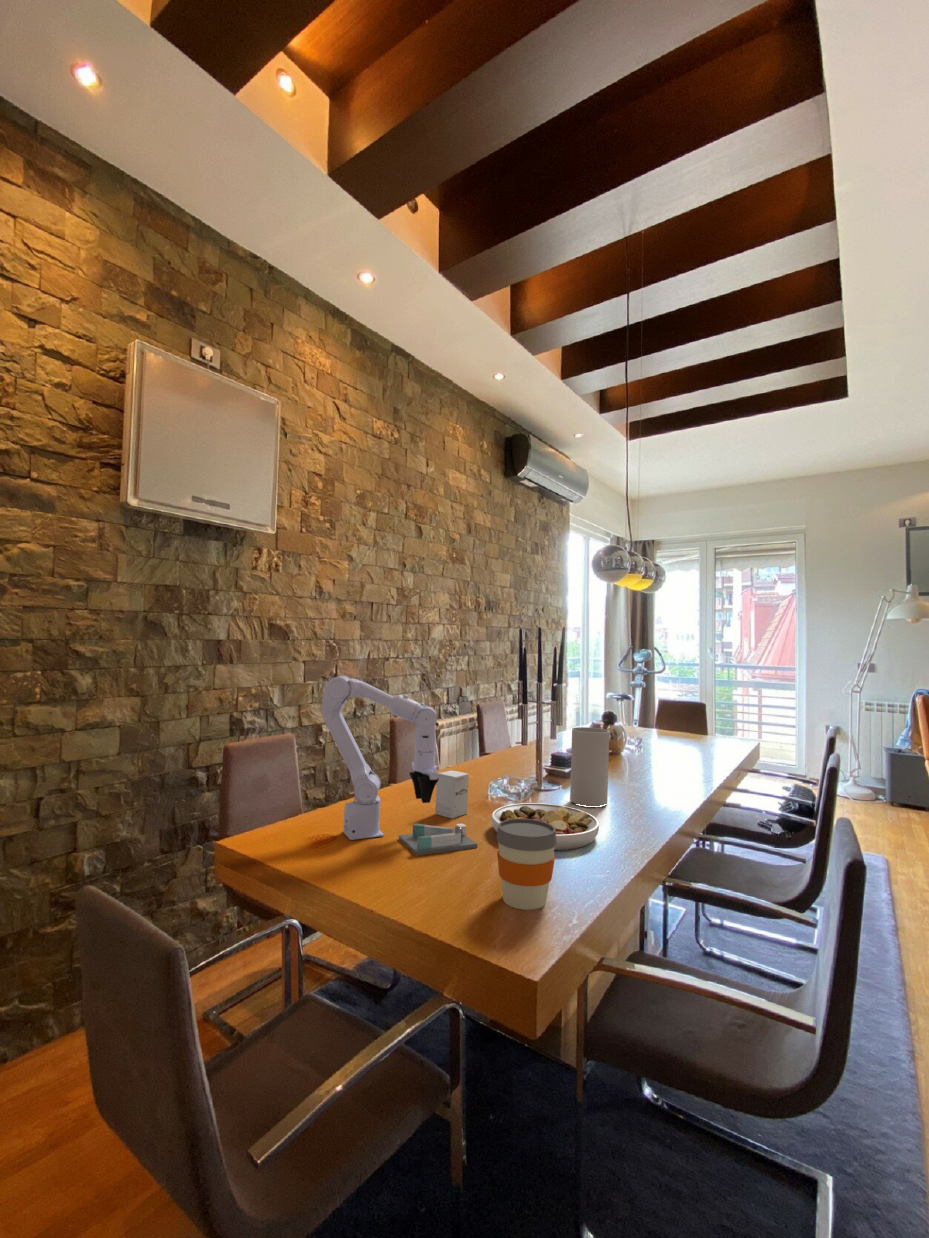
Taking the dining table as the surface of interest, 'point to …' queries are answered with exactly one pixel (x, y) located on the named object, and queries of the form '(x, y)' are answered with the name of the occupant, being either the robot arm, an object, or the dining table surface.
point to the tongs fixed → (440, 840)
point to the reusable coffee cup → (525, 861)
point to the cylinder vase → (589, 766)
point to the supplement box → (452, 794)
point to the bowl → (554, 822)
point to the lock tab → (463, 827)
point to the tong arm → (429, 830)
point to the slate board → (412, 845)
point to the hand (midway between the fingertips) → (422, 800)
